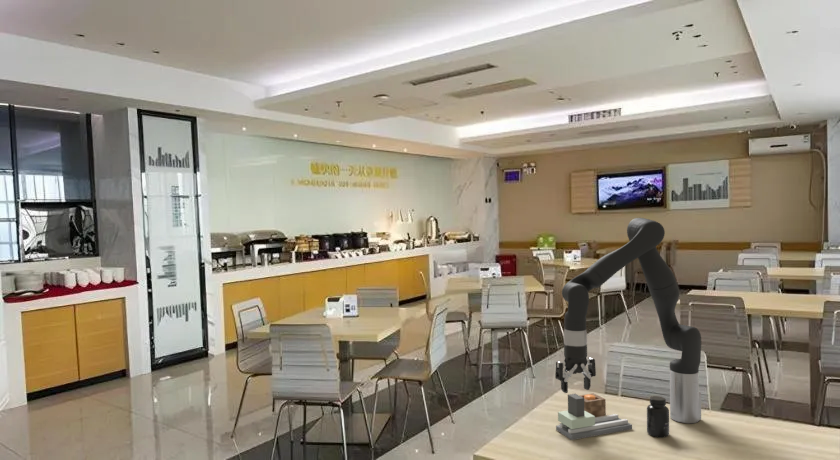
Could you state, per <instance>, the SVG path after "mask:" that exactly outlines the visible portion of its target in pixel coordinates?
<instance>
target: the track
mask: <svg viewBox="0 0 840 460" xmlns="http://www.w3.org/2000/svg"><path fill="white" fill-rule="evenodd" d="M632 429H633V423H632V424H631V423H629V420H628V419H627V418H623V419H622V418H620V417H619V414H617V413H613V414H607V415H606V416H600V417H595V425H593V426H588V427H582V428H576V429H571V428H569V427H567V426H566V425H564V424H563V423H561V422H559V424H558V425H555V430H556V432H557V433H558V432H559V433H560V434H561V435H563V436H565V437H566V438H568V439H569V440H570V441H575V440H580V439H585V438H591V437H597V436H601V435H607V434H613V433H618V432H624V431H629V430H632Z"/></svg>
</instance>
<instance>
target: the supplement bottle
mask: <svg viewBox="0 0 840 460" xmlns="http://www.w3.org/2000/svg"><path fill="white" fill-rule="evenodd" d="M666 405H667V399H666V397H663V396H659V395H653V396H652V395H651V396H649V404H648V405H647V407H646V433H647V434H648V435H649V436H652V437H655V438H667V437H669V435H670V408H668V407H667V406H666Z"/></svg>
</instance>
